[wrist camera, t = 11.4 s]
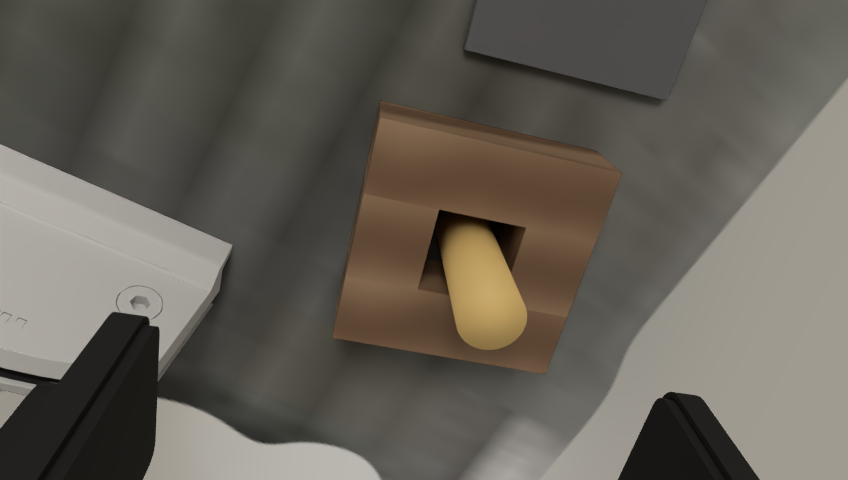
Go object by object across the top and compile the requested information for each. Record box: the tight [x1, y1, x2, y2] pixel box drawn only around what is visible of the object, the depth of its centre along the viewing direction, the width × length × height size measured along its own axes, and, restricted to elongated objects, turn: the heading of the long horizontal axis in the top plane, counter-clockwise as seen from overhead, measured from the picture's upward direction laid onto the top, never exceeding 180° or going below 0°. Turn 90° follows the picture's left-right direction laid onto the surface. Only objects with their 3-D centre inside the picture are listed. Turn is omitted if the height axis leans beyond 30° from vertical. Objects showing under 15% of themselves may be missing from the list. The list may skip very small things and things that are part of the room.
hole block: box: [332, 101, 622, 374], centre depth 33 cm, size 12×12×4 cm
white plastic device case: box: [0, 145, 233, 396], centre depth 30 cm, size 17×5×10 cm, turn 61°
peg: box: [436, 211, 527, 350], centre depth 30 cm, size 3×3×10 cm
